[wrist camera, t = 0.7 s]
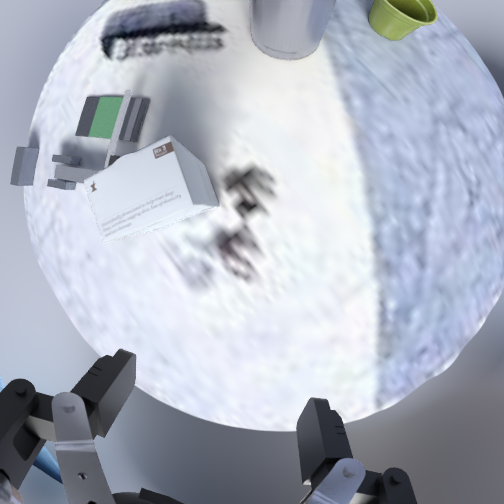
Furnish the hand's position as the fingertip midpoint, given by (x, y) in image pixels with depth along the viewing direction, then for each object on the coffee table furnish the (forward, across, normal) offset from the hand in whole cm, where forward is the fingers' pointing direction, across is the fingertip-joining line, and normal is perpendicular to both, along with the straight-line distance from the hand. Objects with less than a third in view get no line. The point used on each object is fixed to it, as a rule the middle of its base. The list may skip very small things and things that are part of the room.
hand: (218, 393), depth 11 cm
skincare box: (+24, +9, -6) cm, 27 cm away
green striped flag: (+24, +28, -10) cm, 38 cm away
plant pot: (+25, -11, -40) cm, 49 cm away
